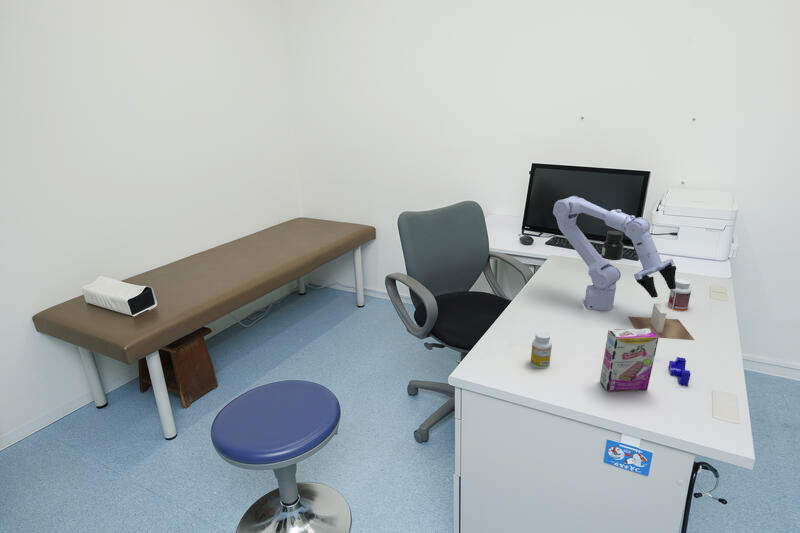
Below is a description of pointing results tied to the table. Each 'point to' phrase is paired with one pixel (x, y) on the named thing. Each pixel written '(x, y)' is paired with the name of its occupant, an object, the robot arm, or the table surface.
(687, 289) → the pill bottle
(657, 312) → the tile
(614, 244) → the ink bottle
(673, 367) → the cable holder
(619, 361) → the candy bar box
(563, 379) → the table surface
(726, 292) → the table surface
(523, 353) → the table surface
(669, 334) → the board
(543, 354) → the supplement bottle
